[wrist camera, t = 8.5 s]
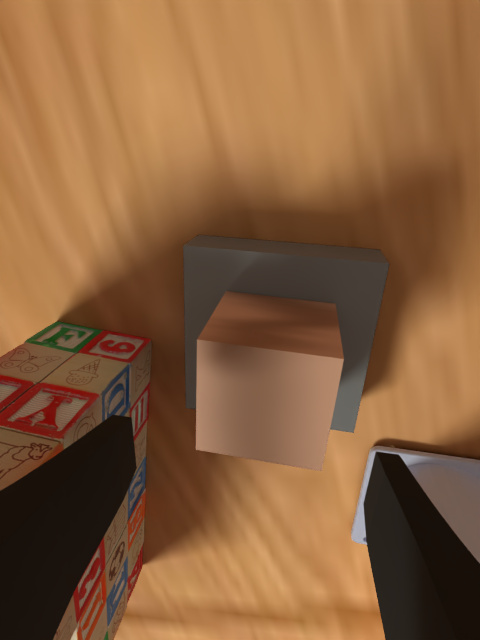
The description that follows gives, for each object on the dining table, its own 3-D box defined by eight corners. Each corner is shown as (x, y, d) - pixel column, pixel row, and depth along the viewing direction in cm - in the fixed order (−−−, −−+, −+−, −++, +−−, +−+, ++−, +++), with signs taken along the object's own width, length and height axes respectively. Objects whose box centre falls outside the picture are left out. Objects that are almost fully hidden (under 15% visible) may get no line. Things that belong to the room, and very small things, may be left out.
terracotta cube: (335, 303, 17) (343, 359, 13) (319, 395, 19) (321, 471, 15) (226, 290, 18) (197, 339, 13) (222, 381, 20) (195, 449, 15)
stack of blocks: (145, 565, 31) (54, 791, 20) (74, 547, 32) (-51, 756, 21) (153, 335, 23) (-2, 512, 11) (54, 316, 23) (-182, 466, 12)
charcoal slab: (378, 247, 19) (389, 263, 16) (348, 398, 22) (353, 432, 20) (200, 233, 20) (183, 245, 17) (200, 378, 24) (185, 407, 21)
